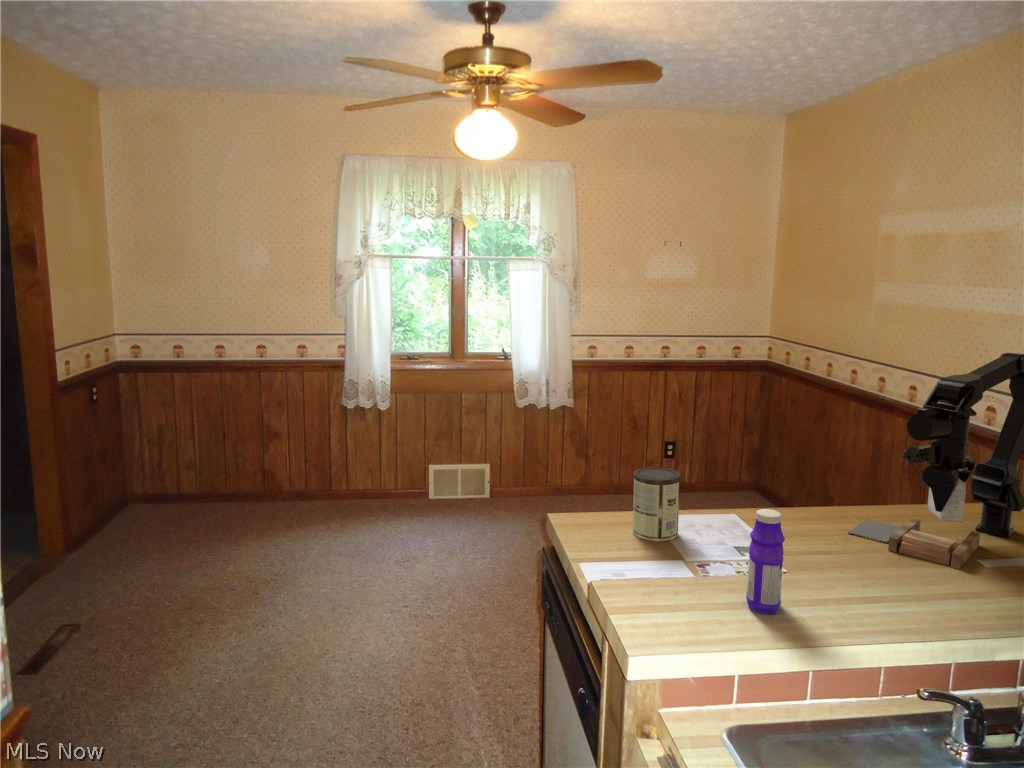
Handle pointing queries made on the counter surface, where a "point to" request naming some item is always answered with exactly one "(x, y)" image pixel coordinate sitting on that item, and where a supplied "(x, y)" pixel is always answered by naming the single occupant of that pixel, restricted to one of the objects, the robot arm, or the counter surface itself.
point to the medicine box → (950, 504)
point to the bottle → (765, 563)
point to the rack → (957, 555)
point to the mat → (874, 530)
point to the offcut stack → (927, 547)
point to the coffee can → (656, 504)
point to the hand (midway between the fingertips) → (944, 506)
